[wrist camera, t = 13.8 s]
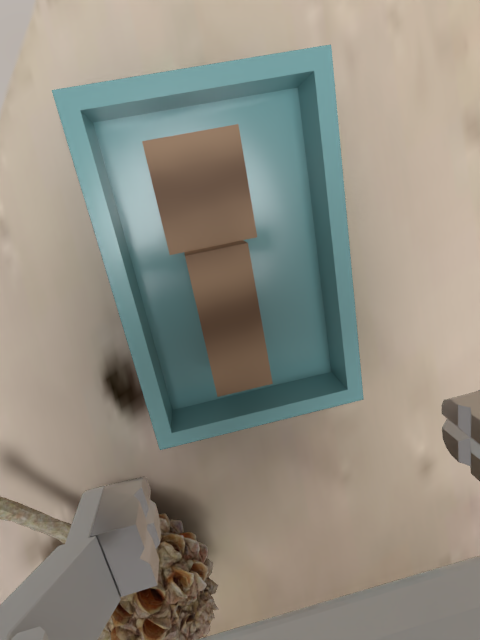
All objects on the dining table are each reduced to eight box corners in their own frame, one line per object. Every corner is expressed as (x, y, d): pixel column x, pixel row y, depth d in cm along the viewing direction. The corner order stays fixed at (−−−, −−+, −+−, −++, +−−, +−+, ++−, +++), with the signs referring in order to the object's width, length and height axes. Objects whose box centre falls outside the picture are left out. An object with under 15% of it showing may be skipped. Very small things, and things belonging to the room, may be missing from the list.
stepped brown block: (270, 354, 31) (286, 380, 27) (200, 370, 31) (203, 400, 26) (232, 132, 26) (243, 116, 21) (146, 148, 26) (138, 135, 21)
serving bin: (343, 377, 34) (363, 399, 30) (162, 421, 32) (159, 450, 29) (309, 67, 26) (330, 44, 22) (71, 107, 25) (51, 90, 21)
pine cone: (237, 519, 37) (256, 626, 27) (182, 587, 38) (183, 711, 29) (18, 417, 30) (-55, 511, 21) (-38, 503, 32) (-129, 627, 23)
